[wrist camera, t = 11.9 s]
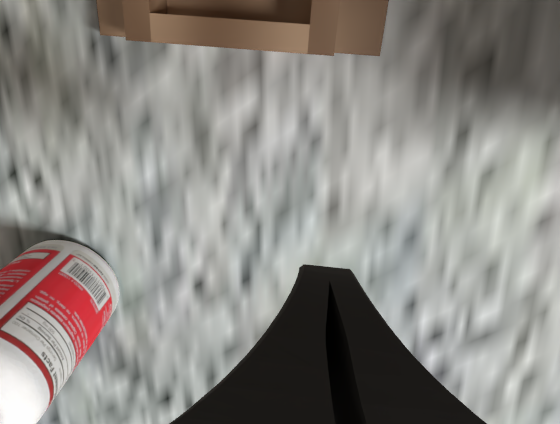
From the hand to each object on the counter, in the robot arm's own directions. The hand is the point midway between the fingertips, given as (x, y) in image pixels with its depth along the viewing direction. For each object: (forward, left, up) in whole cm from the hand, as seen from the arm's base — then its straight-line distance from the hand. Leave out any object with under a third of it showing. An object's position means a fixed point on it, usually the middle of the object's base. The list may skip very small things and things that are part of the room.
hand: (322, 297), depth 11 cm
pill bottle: (+14, +8, -11) cm, 20 cm away
